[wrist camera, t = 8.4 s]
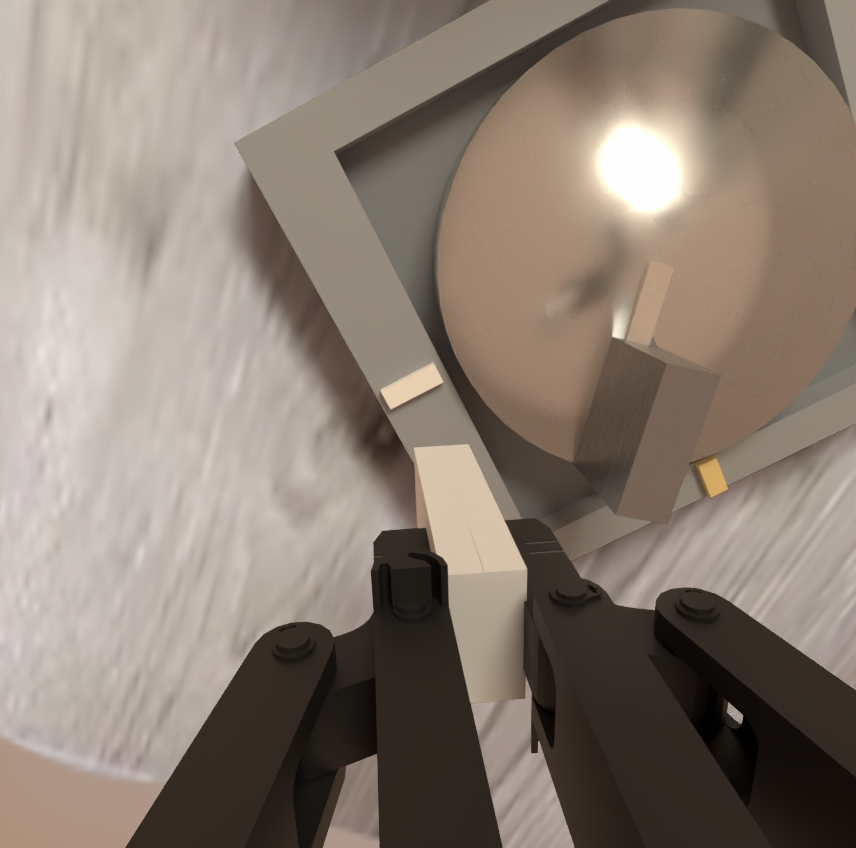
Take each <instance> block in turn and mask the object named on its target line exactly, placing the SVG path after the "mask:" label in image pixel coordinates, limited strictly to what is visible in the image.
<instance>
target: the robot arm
mask: <svg viewBox="0 0 856 848" xmlns="http://www.w3.org/2000/svg"><path fill="white" fill-rule="evenodd" d="M414 466H415V489H416V512H417V528H415V529H402V530H388V531H382V532H381V533H380V535H379V536H378V537H377V539H376V540H375V541H374V542H373V544H374V564H373V567H372V570H371V579H372V594H373V608H374V612H373V614H372V616H371V617H370V619H369V620H368V621H367V622H366V623H365V624H363V625H362V626H360V627H359V628H357V629H355V630H354V631H351V632H348V633H346V634H343V635H340V636H337V637H333V636H332V634H331V632H330V630H328V629H327V628H325V627H323V626H322V625H320V624H315V623H310V622H296V623H289V624H286V625H282V626H279V627H276V628H274V629H272V630H271V631H269V632H267V633H265V634H264V635H263V636H262V637H261V638H260V639H259V640H258V641H257V642H256V643H255V644H254V646H253V647H252V649H251V651H250V652H249V654H248V655H247V657H246V658H245V660H244V662H243V663H242V665H241V666H240V668H239V670H238V671H237V673H236V674H235V676H234V677H233V679H232V681H231V682H230V684H229V685H228V687H227V688H226V690H225V692H224V693H223V695H222V696H221V698H220V699H219V701H218V703H217V704H216V706H215V707H214V709H213V710H212V712H211V714H210V715H209V717H208V718H207V720H206V722H205V723H204V725H203V726H202V728H201V729H200V731H199V733H198V734H197V736H196V737H195V739H194V740H193V742H192V744H191V745H190V747H189V748H188V750H187V751H186V753H185V755H184V756H183V758H182V759H181V761H180V762H179V764H178V766H177V767H176V769H175V770H174V772H173V774H172V775H171V777H170V778H169V780H168V781H167V783H166V785H165V786H164V788H163V789H162V791H161V792H160V794H159V796H158V797H157V799H156V800H155V802H154V803H153V805H152V807H151V808H150V810H149V811H148V813H147V815H146V816H145V818H144V819H143V821H142V822H141V824H140V826H139V827H138V829H137V830H136V832H135V833H134V835H133V837H132V838H131V840H130V842H129V843H128V845H127V846H126V848H323V844H324V841H325V838H326V835H327V832H328V829H329V826H330V823H331V820H332V816H333V813H334V810H335V807H336V804H337V801H338V798H339V795H340V792H341V788H342V785H343V782H344V779H345V772H346V766H347V765H349V764H352V763H354V762H357V761H359V760H362V759H364V758H367V757H370V756H372V755H375V754H377V760H378V800H379V841H380V848H503V847H502V843H501V838H500V834H499V829H498V825H497V820H496V816H495V811H494V807H493V802H492V798H491V793H490V789H489V784H488V780H487V775H486V771H485V766H484V762H483V757H482V753H481V748H480V744H479V739H478V735H477V730H476V726H475V721H474V717H473V712H472V708H471V704H473V703H484V702H494V701H504V700H515V699H525V679H526V677H527V680H528V683H529V686H530V689H531V691H532V708H531V753H538V741H540V744H541V747H542V750H543V753H544V756H545V759H546V762H547V765H548V768H549V771H550V774H551V777H552V780H553V783H554V786H555V789H556V792H557V795H558V798H559V801H560V804H561V807H562V810H563V813H564V816H565V819H566V822H567V825H568V828H569V831H570V834H571V837H572V840H573V843H574V846H575V848H856V690H854V689H853V688H851V687H850V686H849V685H847V684H846V683H844V682H843V681H841V680H840V679H839V678H837V677H836V676H834V675H833V674H832V673H830V672H829V671H827V670H826V669H824V668H823V667H822V666H820V665H819V664H817V663H816V662H814V661H813V660H812V659H810V658H809V657H807V656H806V655H804V654H803V653H802V652H800V651H799V650H797V649H796V648H795V647H793V646H792V645H790V644H789V643H787V642H786V641H785V640H783V639H782V638H780V637H779V636H777V635H776V634H775V633H773V632H772V631H770V630H769V629H767V628H766V627H765V626H763V625H762V624H760V623H759V622H757V621H756V620H755V619H753V618H752V617H750V616H749V615H748V614H746V613H745V612H743V611H742V610H740V609H739V608H738V607H736V606H735V605H733V604H732V603H730V602H729V601H727V600H726V599H724V598H722V597H720V596H718V595H716V594H714V593H711V592H707V591H704V590H702V589H697V588H676V589H670V590H668V591H665V592H663V593H661V594H660V595H659V597H658V598H657V600H656V607H655V610H646V609H637V608H629V607H624V606H618V605H615V604H614V603H613V602H612V600H611V599H610V597H609V595H608V594H607V593H606V592H605V591H604V590H603V589H602V588H601V587H600V586H599V585H597V584H595V583H593V582H591V581H589V580H586V579H582V578H580V576H579V574H578V573H577V571H576V569H575V568H574V566H573V565H572V563H571V561H570V560H569V558H568V556H567V555H566V553H565V551H563V548H562V546H561V545H560V543H559V542H557V538H556V537H555V535H554V533H553V532H552V530H551V528H550V527H548V526H547V525H545V524H544V523H542V522H540V521H539V520H537V519H536V518H529V519H515V520H504V519H503V516H502V514H501V512H500V510H499V508H498V506H497V504H496V501H495V499H494V497H493V495H492V493H491V491H490V489H489V487H488V484H487V482H486V480H485V478H484V476H483V474H482V472H481V469H480V467H479V465H478V463H477V461H476V459H475V457H474V455H473V452H472V450H471V448H470V446H469V444H463V445H447V446H431V447H416V448H414ZM728 702H729V703H730V704H731V705H733V706H734V707H735V708H736V709H737V710H738V711H739V712H740V713H742V715H743V721H742V724H740V723H738V722H737V721H735V720H734V719H733V718H732V717H731V716H730V715H729V714H728V713H727V708H728Z"/></svg>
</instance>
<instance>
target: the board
mask: <svg viewBox="0 0 856 848" xmlns="http://www.w3.org/2000/svg"><path fill="white" fill-rule="evenodd" d="M673 8H686V9H703V10H712V11H717V12H721V13H726V14H730V15H735V16H739V17H742V18H744V19H747V20H749V21H752V22H754V23H757V24H759V25H762V26H764V27H767V28H769V29H770V30H772V31H774V32H775V33H777V34H779V35H780V36H782V37H784V38H785V39H787V40H789V41H790V42H792V43H793V44H794V45H796V46H797V47H798V48H799V49H800V50H801V51H803V52H804V53H805V54H806V55H807V56H809V57H810V58H811V59H812V60H813V61H814V62H815V63H816V64H817V65H818V66H819V67H820V68H821V70H822V71H823V72H824V73H825V74H826V75H827V77H828V78H829V79H830V80H831V81H832V82H833V84H834V85H835V86H836V88H837V90H838V91H839V93H840V95H841V96H842V98H843V99H844V101H845V103H846V104H847V106H848V107H849V109H850V111H851V113H852V116H853V118H854V120H855V123H856V0H489V1H488V2H486V3H484V4H482V5H480V6H479V7H477V8H475V9H473V10H471V11H470V12H468V13H466V14H464V15H463V16H461V17H459V18H457V19H455V20H454V21H452V22H450V23H448V24H446V25H445V26H443V27H441V28H439V29H437V30H436V31H434V32H432V33H430V34H428V35H427V36H425V37H423V38H421V39H419V40H418V41H416V42H414V43H412V44H410V45H409V46H407V47H405V48H403V49H402V50H400V51H398V52H396V53H394V54H393V55H391V56H389V57H387V58H385V59H384V60H382V61H380V62H378V63H376V64H375V65H373V66H371V67H369V68H367V69H366V70H364V71H362V72H360V73H358V74H357V75H355V76H353V77H351V78H350V79H348V80H346V81H344V82H342V83H341V84H339V85H337V86H335V87H333V88H332V89H330V90H328V91H326V92H324V93H323V94H321V95H319V96H317V97H315V98H314V99H312V100H310V101H308V102H306V103H305V104H303V105H301V106H299V107H298V108H296V109H294V110H292V111H290V112H289V113H287V114H285V115H283V116H281V117H280V118H278V119H276V120H274V121H272V122H271V123H269V124H267V125H265V126H263V127H262V128H260V129H258V130H256V131H254V132H253V133H251V134H249V135H247V136H245V137H244V138H242V139H240V140H238V141H237V142H235V143H234V144H235V146H236V147H237V149H238V151H239V153H240V154H241V156H242V158H243V160H244V162H245V163H246V165H247V167H248V169H249V171H250V172H251V174H252V176H253V178H254V179H255V181H256V183H257V185H258V187H259V188H260V190H261V192H262V194H263V196H264V197H265V199H266V201H267V203H268V204H269V206H270V208H271V210H272V212H273V213H274V215H275V217H276V219H277V221H278V222H279V224H280V226H281V228H282V229H283V231H284V233H285V235H286V237H287V238H288V240H289V242H290V244H291V246H292V247H293V249H294V251H295V253H296V254H297V256H298V258H299V260H300V262H301V263H302V265H303V267H304V269H305V271H306V272H307V274H308V276H309V278H310V279H311V281H312V283H313V285H314V287H315V288H316V290H317V292H318V294H319V295H320V297H321V299H322V301H323V303H324V304H325V306H326V308H327V310H328V312H329V313H330V315H331V317H332V319H333V320H334V322H335V324H336V326H337V328H338V329H339V331H340V333H341V335H342V337H343V338H344V340H345V342H346V344H347V345H348V347H349V349H350V351H351V353H352V354H353V356H354V358H355V360H356V362H357V363H358V365H359V367H360V369H361V370H362V372H363V374H364V376H365V378H366V379H367V381H368V383H369V385H370V387H371V388H372V390H373V392H374V394H375V395H376V397H377V399H378V401H379V403H380V404H381V406H382V408H383V410H384V411H385V413H386V415H387V417H388V419H389V420H390V422H391V424H392V426H393V428H394V429H395V431H396V433H397V435H398V436H399V438H400V440H401V442H402V444H403V445H404V447H405V449H406V451H407V453H408V454H409V456H410V458H411V460H412V461H413V463H414V448H416V447H431V446H447V445H463V444H469V446H470V448H471V450H472V452H473V455H474V457H475V459H476V461H477V463H478V465H479V467H480V469H481V472H482V474H483V476H484V478H485V480H486V482H487V484H488V487H489V489H490V491H491V493H492V495H493V497H494V499H495V501H496V504H497V506H498V508H499V510H500V512H501V514H502V516H503V519H504V520H515V519H529V518H536V519H537V520H539V521H540V522H542V523H544V524H545V525H547V526H548V527H550V528H551V530H552V532H553V533H554V535H555V537H556V538H557V542H559V543H560V545H561V546H562V548H563V551H565V553H566V555H567V556H568V558H569V560H570V561H573V560H575V559H577V558H579V557H581V556H583V555H585V554H587V553H589V552H592V551H594V550H596V549H598V548H600V547H602V546H604V545H606V544H608V543H610V542H612V541H614V540H616V539H618V538H620V537H622V536H624V535H627V534H629V533H631V532H633V531H635V530H637V529H639V528H641V527H643V526H645V525H647V524H649V523H651V521H645V520H639V519H633V518H627V517H622V516H616V515H615V514H614V513H613V512H612V510H611V509H610V508H609V507H608V505H607V504H606V503H605V502H604V501H603V499H602V498H601V497H600V496H599V495H598V493H597V492H596V491H595V490H594V489H593V487H592V486H591V485H590V484H589V482H588V481H587V480H586V479H585V478H584V476H583V475H582V474H581V473H580V472H579V470H578V469H577V468H576V467H575V466H574V464H573V463H574V462H570V461H567V460H565V459H562V458H560V457H558V456H555V455H553V454H550V453H548V452H546V451H544V450H542V449H541V448H539V447H537V446H535V445H534V444H532V443H530V442H528V441H527V440H525V439H524V438H522V437H521V436H520V435H518V434H517V433H516V432H515V431H513V430H512V429H511V428H509V427H508V426H507V425H506V424H504V422H503V421H502V420H501V419H500V418H499V417H498V416H497V415H496V414H495V413H494V412H493V411H492V410H491V409H490V408H489V407H488V406H487V405H486V404H485V402H484V401H483V399H482V398H481V397H480V395H479V394H478V393H477V391H476V390H475V389H474V387H473V386H472V384H471V383H470V381H469V380H468V378H467V376H466V375H465V373H464V371H463V370H462V368H461V366H460V364H459V362H458V360H457V359H456V357H455V355H454V353H453V351H452V349H451V347H450V345H449V342H448V339H447V337H446V334H445V331H444V329H443V326H442V323H441V319H440V315H439V311H438V306H437V302H436V297H435V288H434V278H433V243H434V236H435V229H436V223H437V216H438V212H439V208H440V204H441V201H442V197H443V194H444V190H445V187H446V184H447V182H448V179H449V177H450V174H451V172H452V170H453V167H454V165H455V163H456V160H457V158H458V156H459V154H460V153H461V151H462V149H463V147H464V146H465V144H466V142H467V140H468V139H469V137H470V135H471V133H472V132H473V130H474V129H475V128H476V126H477V125H478V124H479V122H480V121H481V120H482V118H483V117H484V116H485V114H486V113H487V112H488V110H489V109H490V108H491V106H492V105H493V104H494V103H495V102H496V101H497V100H498V99H499V98H500V97H501V96H502V95H503V94H504V93H505V92H506V91H507V90H508V89H509V88H510V87H511V86H512V85H513V84H514V83H515V82H516V81H517V80H518V79H519V78H520V77H521V76H522V75H523V74H524V73H525V72H527V71H528V70H529V69H530V68H531V67H533V66H534V65H535V64H536V63H538V62H539V61H540V60H541V59H543V58H544V57H545V56H547V55H548V54H549V53H550V52H552V51H553V50H554V49H556V48H557V47H559V46H561V45H563V44H564V43H566V42H568V41H569V40H571V39H573V38H574V37H576V36H578V35H579V34H581V33H583V32H585V31H587V30H590V29H592V28H595V27H597V26H599V25H602V24H604V23H607V22H609V21H611V20H614V19H617V18H621V17H625V16H629V15H633V14H637V13H641V12H645V11H653V10H663V9H673ZM855 423H856V307H855V310H854V312H853V314H852V316H851V318H850V320H849V322H848V325H847V327H846V329H845V331H844V333H843V335H842V337H841V339H840V340H839V342H838V344H837V345H836V347H835V348H834V350H833V352H832V353H831V355H830V357H829V358H828V360H827V361H826V363H825V364H824V365H823V367H822V368H821V369H820V371H819V372H818V373H817V374H816V376H815V377H814V378H813V380H812V381H811V382H810V383H809V385H808V386H807V387H806V388H805V389H804V390H803V391H802V392H801V393H800V394H799V395H798V396H797V397H796V398H795V399H794V400H793V401H792V402H791V403H790V405H789V406H787V407H786V408H785V409H784V410H783V411H781V412H780V413H779V414H778V415H777V416H775V417H774V418H773V419H772V420H771V421H769V422H768V423H767V424H766V425H764V426H763V427H761V428H760V429H758V430H757V431H755V432H754V433H752V434H751V435H749V436H748V437H746V438H745V439H743V440H741V441H739V442H737V443H735V444H733V445H731V446H729V447H727V448H726V449H724V450H722V451H720V452H717V453H714V454H712V455H709V456H707V457H704V458H701V459H699V460H696V461H693V462H690V464H689V466H688V469H687V472H686V475H685V477H684V480H683V483H682V486H681V488H680V491H679V494H678V497H677V499H676V502H675V505H674V508H673V510H672V512H674V511H676V510H678V509H680V508H682V507H684V506H686V505H688V504H690V503H692V502H694V501H697V500H699V499H701V498H703V497H705V496H707V495H708V496H709V497H713V496H715V495H717V494H719V493H721V492H723V491H726V490H728V487H727V485H729V484H732V483H734V482H736V481H738V480H740V479H742V478H744V477H746V476H748V475H750V474H752V473H754V472H756V471H758V470H760V469H762V468H764V467H767V466H769V465H771V464H773V463H775V462H777V461H779V460H781V459H783V458H785V457H787V456H789V455H791V454H793V453H795V452H797V451H800V450H802V449H804V448H806V447H808V446H810V445H812V444H814V443H816V442H818V441H820V440H822V439H824V438H826V437H828V436H830V435H832V434H835V433H837V432H839V431H841V430H843V429H845V428H847V427H849V426H851V425H853V424H855Z"/></svg>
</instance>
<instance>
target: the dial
mask: <svg viewBox="0 0 856 848" xmlns="http://www.w3.org/2000/svg"><path fill="white" fill-rule="evenodd" d="M433 278H434V288H435V297H436V302H437V306H438V311H439V315H440V319H441V323H442V326H443V329H444V331H445V334H446V337H447V339H448V342H449V345H450V347H451V349H452V351H453V353H454V355H455V357H456V359H457V360H458V362H459V364H460V366H461V368H462V370H463V371H464V373H465V375H466V376H467V378H468V380H469V381H470V383H471V384H472V386H473V387H474V389H475V390H476V391H477V393H478V394H479V395H480V397H481V398H482V399H483V401H484V402H485V404H486V405H487V406H488V407H489V408H490V409H491V410H492V411H493V412H494V413H495V414H496V415H497V416H498V417H499V418H500V419H501V420H502V421H503V422H504V424H506V425H507V426H508V427H509V428H511V429H512V430H513V431H515V432H516V433H517V434H518V435H520V436H521V437H522V438H524V439H525V440H527V441H528V442H530V443H532V444H534V445H535V446H537V447H539V448H541V449H542V450H544V451H546V452H548V453H550V454H553V455H555V456H558V457H560V458H562V459H565V460H567V461H570V462H574V463H573V464H574V466H575V467H576V468H577V469H578V470H579V472H580V473H581V474H582V475H583V476H584V478H585V479H586V480H587V481H588V482H589V484H590V485H591V486H592V487H593V489H594V490H595V491H596V492H597V493H598V495H599V496H600V497H601V498H602V499H603V501H604V502H605V503H606V504H607V505H608V507H609V508H610V509H611V510H612V512H613V513H614V514H615V515H616V516H622V517H627V518H633V519H639V520H645V521H651V522H656V523H662V524H668V521H669V519H670V516H671V513H672V510H673V508H674V505H675V502H676V499H677V497H678V494H679V491H680V488H681V486H682V483H683V480H684V477H685V475H686V472H687V469H688V466H689V464H690V462H693V461H696V460H699V459H701V458H704V457H707V456H709V455H712V454H714V453H717V452H720V451H722V450H724V449H726V448H727V447H729V446H731V445H733V444H735V443H737V442H739V441H741V440H743V439H745V438H746V437H748V436H749V435H751V434H752V433H754V432H755V431H757V430H758V429H760V428H761V427H763V426H764V425H766V424H767V423H768V422H769V421H771V420H772V419H773V418H774V417H775V416H777V415H778V414H779V413H780V412H781V411H783V410H784V409H785V408H786V407H787V406H789V405H790V403H791V402H792V401H793V400H794V399H795V398H796V397H797V396H798V395H799V394H800V393H801V392H802V391H803V390H804V389H805V388H806V387H807V386H808V385H809V383H810V382H811V381H812V380H813V378H814V377H815V376H816V374H817V373H818V372H819V371H820V369H821V368H822V367H823V365H824V364H825V363H826V361H827V360H828V358H829V357H830V355H831V353H832V352H833V350H834V348H835V347H836V345H837V344H838V342H839V340H840V339H841V337H842V335H843V333H844V331H845V329H846V327H847V325H848V322H849V320H850V318H851V316H852V314H853V312H854V310H855V307H856V123H855V120H854V118H853V116H852V113H851V111H850V109H849V107H848V106H847V104H846V103H845V101H844V99H843V98H842V96H841V95H840V93H839V91H838V90H837V88H836V86H835V85H834V84H833V82H832V81H831V80H830V79H829V78H828V77H827V75H826V74H825V73H824V72H823V71H822V70H821V68H820V67H819V66H818V65H817V64H816V63H815V62H814V61H813V60H812V59H811V58H810V57H809V56H807V55H806V54H805V53H804V52H803V51H801V50H800V49H799V48H798V47H797V46H796V45H794V44H793V43H792V42H790V41H789V40H787V39H785V38H784V37H782V36H780V35H779V34H777V33H775V32H774V31H772V30H770V29H769V28H767V27H764V26H762V25H759V24H757V23H754V22H752V21H749V20H747V19H744V18H742V17H739V16H735V15H730V14H726V13H721V12H717V11H712V10H703V9H686V8H673V9H663V10H653V11H645V12H641V13H637V14H633V15H629V16H625V17H621V18H617V19H614V20H611V21H609V22H607V23H604V24H602V25H599V26H597V27H595V28H592V29H590V30H587V31H585V32H583V33H581V34H579V35H578V36H576V37H574V38H573V39H571V40H569V41H568V42H566V43H564V44H563V45H561V46H559V47H557V48H556V49H554V50H553V51H552V52H550V53H549V54H548V55H547V56H545V57H544V58H543V59H541V60H540V61H539V62H538V63H536V64H535V65H534V66H533V67H531V68H530V69H529V70H528V71H527V72H525V73H524V74H523V75H522V76H521V77H520V78H519V79H518V80H517V81H516V82H515V83H514V84H513V85H512V86H511V87H510V88H509V89H508V90H507V91H506V92H505V93H504V94H503V95H502V96H501V97H500V98H499V99H498V100H497V101H496V102H495V103H494V104H493V105H492V106H491V108H490V109H489V110H488V112H487V113H486V114H485V116H484V117H483V118H482V120H481V121H480V122H479V124H478V125H477V126H476V128H475V129H474V130H473V132H472V133H471V135H470V137H469V139H468V140H467V142H466V144H465V146H464V147H463V149H462V151H461V153H460V154H459V156H458V158H457V160H456V163H455V165H454V167H453V170H452V172H451V174H450V177H449V179H448V182H447V184H446V187H445V190H444V194H443V197H442V201H441V204H440V208H439V212H438V216H437V223H436V229H435V236H434V243H433Z"/></svg>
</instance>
